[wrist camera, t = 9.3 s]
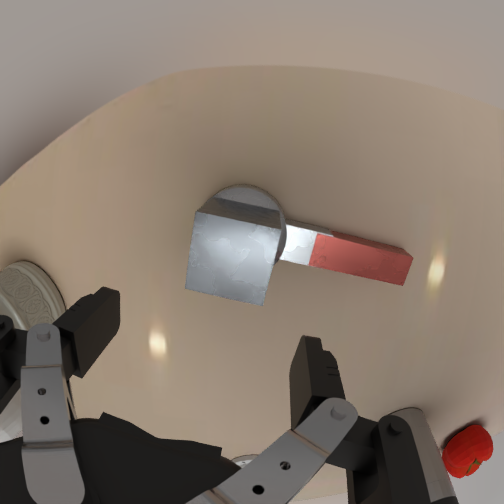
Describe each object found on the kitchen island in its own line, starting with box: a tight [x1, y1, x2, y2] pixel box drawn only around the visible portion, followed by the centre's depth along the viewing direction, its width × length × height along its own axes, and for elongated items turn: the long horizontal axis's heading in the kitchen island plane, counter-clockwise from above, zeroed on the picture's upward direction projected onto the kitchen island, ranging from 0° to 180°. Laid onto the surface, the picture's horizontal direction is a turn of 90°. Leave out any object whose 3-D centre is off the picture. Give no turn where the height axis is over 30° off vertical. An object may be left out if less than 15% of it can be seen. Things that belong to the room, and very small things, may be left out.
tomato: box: [442, 425, 493, 478], centre depth 35 cm, size 11×12×9 cm
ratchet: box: [205, 184, 413, 286], centre depth 25 cm, size 20×8×7 cm, turn 78°
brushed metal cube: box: [185, 197, 282, 306], centre depth 23 cm, size 6×6×6 cm
